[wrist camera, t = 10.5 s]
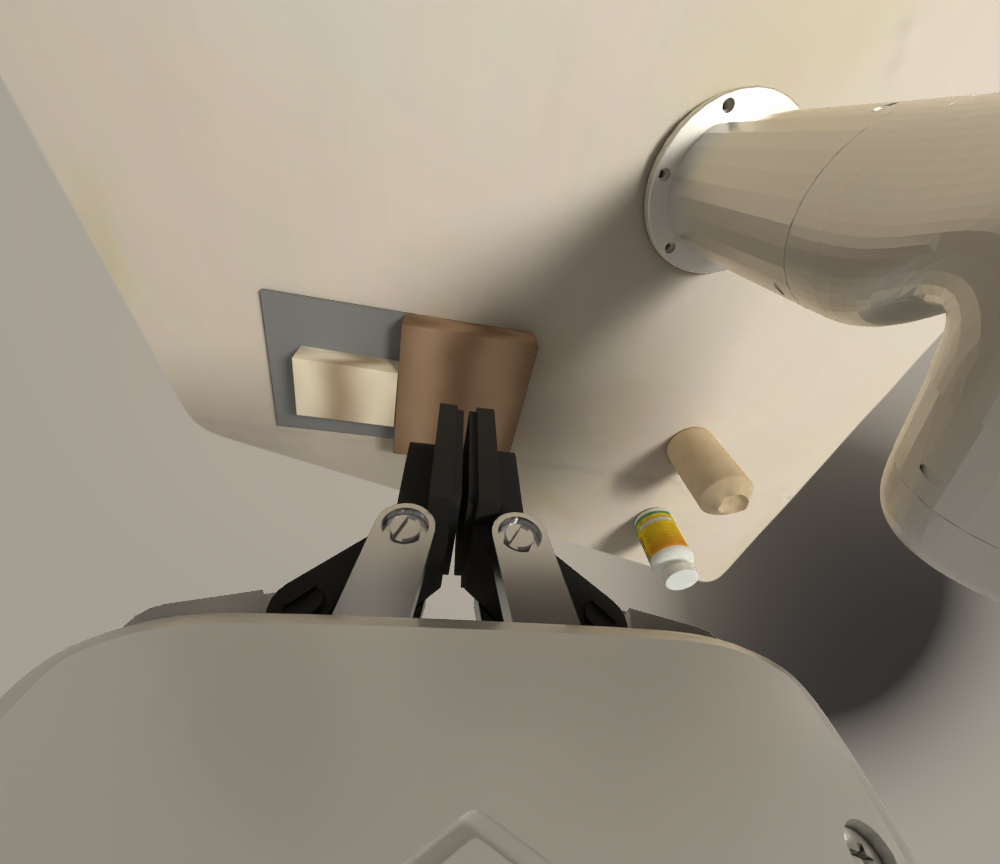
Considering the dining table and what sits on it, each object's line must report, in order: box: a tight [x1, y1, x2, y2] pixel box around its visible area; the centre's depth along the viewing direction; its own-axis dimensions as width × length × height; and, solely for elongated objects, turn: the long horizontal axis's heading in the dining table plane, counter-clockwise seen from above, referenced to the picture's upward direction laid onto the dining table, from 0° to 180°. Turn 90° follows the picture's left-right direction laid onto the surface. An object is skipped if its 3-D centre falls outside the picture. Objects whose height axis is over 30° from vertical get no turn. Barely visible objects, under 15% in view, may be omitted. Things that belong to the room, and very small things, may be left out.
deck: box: [393, 313, 538, 454], centre depth 41 cm, size 12×14×3 cm
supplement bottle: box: [634, 508, 699, 590], centre depth 52 cm, size 5×5×10 cm
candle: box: [667, 427, 753, 515], centre depth 45 cm, size 6×6×10 cm
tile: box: [292, 346, 399, 427], centre depth 39 cm, size 9×6×2 cm, turn 78°
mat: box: [260, 289, 406, 438], centre depth 39 cm, size 12×14×1 cm
